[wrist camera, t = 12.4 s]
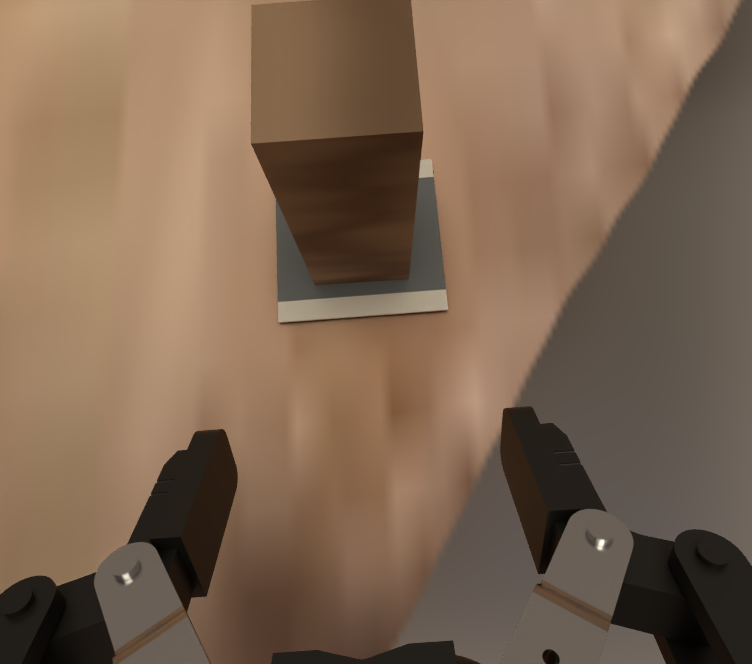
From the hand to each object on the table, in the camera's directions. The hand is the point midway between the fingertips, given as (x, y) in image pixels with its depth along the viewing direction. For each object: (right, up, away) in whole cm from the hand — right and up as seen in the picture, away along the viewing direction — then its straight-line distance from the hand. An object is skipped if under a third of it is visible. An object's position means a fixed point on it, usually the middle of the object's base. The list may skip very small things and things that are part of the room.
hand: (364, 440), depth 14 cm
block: (0, +8, +10) cm, 13 cm away
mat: (-1, +8, +10) cm, 13 cm away
